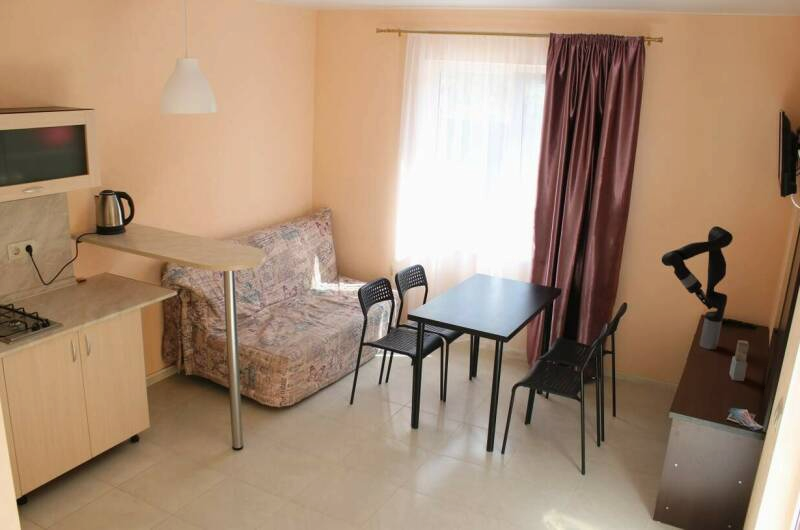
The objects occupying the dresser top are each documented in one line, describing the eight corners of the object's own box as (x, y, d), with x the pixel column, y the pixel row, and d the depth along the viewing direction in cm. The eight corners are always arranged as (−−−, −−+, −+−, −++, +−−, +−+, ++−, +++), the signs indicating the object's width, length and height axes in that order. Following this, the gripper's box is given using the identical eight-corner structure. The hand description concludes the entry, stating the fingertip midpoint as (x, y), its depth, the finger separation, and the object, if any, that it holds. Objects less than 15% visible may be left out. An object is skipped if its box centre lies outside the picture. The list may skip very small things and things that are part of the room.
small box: (743, 381, 373) (747, 363, 370) (732, 380, 374) (736, 362, 371) (740, 375, 381) (744, 357, 378) (729, 373, 382) (732, 355, 379)
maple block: (734, 357, 377) (738, 340, 373) (743, 358, 375) (747, 341, 372) (736, 361, 372) (739, 343, 369) (745, 362, 371) (749, 344, 368)
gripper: (698, 282, 371) (718, 306, 372) (695, 274, 384) (714, 297, 385) (686, 291, 374) (705, 314, 375) (683, 282, 387) (701, 304, 388)
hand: (709, 305), depth 380 cm, fingers open, 8 cm apart
